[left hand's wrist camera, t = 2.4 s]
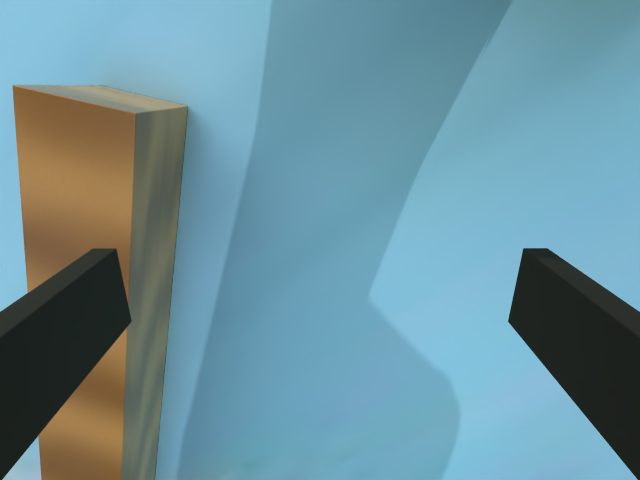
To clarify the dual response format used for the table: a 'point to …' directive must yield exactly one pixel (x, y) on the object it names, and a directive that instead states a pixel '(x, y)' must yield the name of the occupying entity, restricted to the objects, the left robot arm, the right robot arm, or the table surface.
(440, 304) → the table surface
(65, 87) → the block
